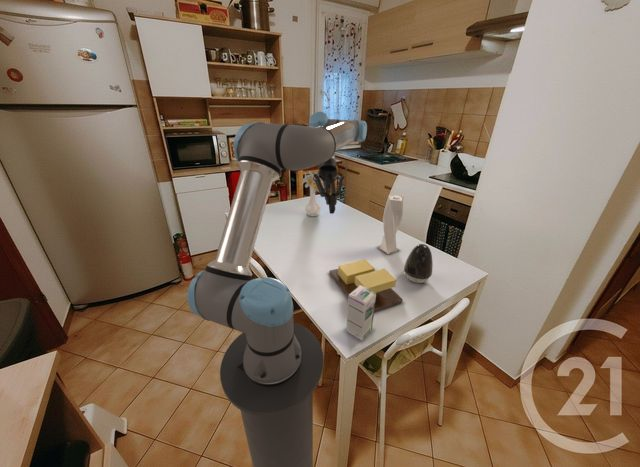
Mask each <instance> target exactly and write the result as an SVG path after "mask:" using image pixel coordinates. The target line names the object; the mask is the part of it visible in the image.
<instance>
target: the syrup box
mask: <svg viewBox="0 0 640 467" xmlns="http://www.w3.org/2000/svg"><path fill="white" fill-rule="evenodd" d="M375 299H376V293H375V292H373V291H371V290H370V289H368V288H366V287H363V286H361V285H359V286H358V287H357V288H356V289H355V290H353V291H352V292H351V293H350V294H349V296H348V297H347V312H346V314H347V315H346V332H347V333H349V334H350V335H352V336H354V337H355V338H357V339H358V340H359V341H363V340H364V339H365V338H366V337H367V336H368V335H369V333H370V332H371V331H372V330H373V325H374V324H373V323H374V315H375V312H374V308H375Z"/></svg>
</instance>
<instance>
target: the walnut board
mask: <svg viewBox="0 0 640 467" xmlns="http://www.w3.org/2000/svg"><path fill="white" fill-rule="evenodd" d="M328 274H329V275H330V277H331V278H332V279H333V280H334V281H335V283H336V285H337V286H338V287H339V288H340V289H341V291H342V292H343V293H344V294H345V295H346V297H347V298H348V296H349V294H350V293H351V292H352V291H353V290H355V289H356V288H357V286H356V284H355V282H354V283H351V284H346V283H345V282H344V281H343V280H342V278H341V277H340V276H339V275H338V268H334V269H330V270H329V271H328ZM403 301H404V299H403V298H402V297H401V296H400V295H399V294H398V293H397V292H396V291H395V290H394V289H393V288H389V289H386V290H383V291H380V292H377V293H376V299H375V308H374V313H376V312H379V311H381V310H385V309H388V308H391V307H393V306H396V305H400V304H402V303H403Z"/></svg>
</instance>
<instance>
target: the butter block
mask: <svg viewBox="0 0 640 467" xmlns="http://www.w3.org/2000/svg"><path fill="white" fill-rule="evenodd" d="M337 269H338V275H339V276H340V277H341V278H342V280H343V281H344V282H345V283H346V284H351V283H354V282H355V276H359V275H363V274H366V273H370V272H373V271H376V268H375V267H374V266H373V265H372V264H371V263H369V261H368V260H366V258H365V259H360V260H356V261H352V262H348V263H344V264H341V265H338V267H337Z"/></svg>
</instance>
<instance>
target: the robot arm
mask: <svg viewBox="0 0 640 467" xmlns="http://www.w3.org/2000/svg"><path fill="white" fill-rule="evenodd" d="M308 124H309V126H307V125H301V124H288V123H287V124H286V123H269V122H267V123H265V122H262V121H257V122H248V123H245V124H244V125H242V126H241V127H240V128H239V129H238V130H237V131H236V134H235V136H234V139H233V147H232V148H233V149H234V150H233V154H234V158H235V159H236V161H237V164H236V165H237V168H238V169H239V171H240V174H239V177H238V181H237V184H236V187H235V191H234V195H233V198H232V201H231V205H230V208H229V211H228V215H227V218H226V221H225V224H224V225H225V226H224V228H223V231H222V235H221V238H220V241H219V244H218V248H217V252H216V254H215V258H214V259H213V260H212V261H209V262H207V263H206V266H205V270H201V271H199V272H198V273H197V274H196V275H195V277H193V278H192V280H191V281H190V283H189V285H188V288H187V295H186V300H187V305H188V307H189V309H190V310H191V312H192V313H193V314H194V315H195V316H198V317H200V318H202V319H203V320H204V321H205V320H206V321H208V322H213V323H214V324H218V325H220V326H223V327H226V328H229V329H232V330H235V331H237V332H240V333H245V334H246V338H247V345H246V348H245V352H244V356H243V362H242V363H241V364H239V365H237V368H240V367H241V366H244V370H245V373H246V375H247V377H248V378H249V379H250V380H251V381H252V382H254V383H256V384H258V385H261V386H276V385H280V384H282V383H284V382H286V381H288V380H289V379H291V378H292V377H293V376H294V375H295V374H296V372H297V371H298V369H299V367H300V365H301V360H302V352H301V347H300V344H299V342H298V340H297V338H296V337H295V335H294V325H293V322H294V303H293V296H292V293H291V290H290V288H289V287H288V286H287V285H286V284H285V283H284V282H283V281H281V280H279V279H276V278H273V277H269V276H268V277H267V276H265V277H262V278H260V277H257V278H253V279H252V277H253V273H252V270H251V269H250V267H249V266H250V263H251V259H252V256H253V252H254V248H255V246H256V242H257V238H258V235H259V231H260V227H261V224H262V220H263V216H264V213H265V210H266V205H267V202H268V199H269V195H270V192H271V189H272V184H273V183H274V182H276V181H278V180H279V179H280V177H281V173H282V170H283V171H303V170H307V169H310V168H314V167H316V166H317V168H318V169H317V170H318V172H317V173H318V174H314V173H313V174H314V175H313V180H314V181H315V183H316V185H317V188H318V190H319V192H318V193H319V196H320V197H321V198H324V200H325V203H326V205H327V206H328V211H329V214H333V215H334V214H335V211H336V205H337V203H338V200H337V199H339V198H340V196H341V194H342V187H343V183H344V181H345V176H343V175H342V176H341V175H340V174H339V172H338V168H337V160H336V154H335V153H336V152H337V151H338V150H340V149H343V148H344V147H346V146H347V145H349V144H350V143H352V142H355V143H359V142H360V143H362V142H365V141H366V138H367V137H366V136H367V134H368V133H367V132H368V124H367V122H366V121H365V120H360V119H339V118H338V119H337V118H329V117H328V114H327V113H326V112H324V111H317V112H314V113H312V114H311V115H310V117H309V119H308ZM320 179H321V180H322V181H323V184H324V188H323V186H322V183H321V180H320ZM336 181H337V182H338V183H337V187H336ZM336 188H337V189H336Z"/></svg>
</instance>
